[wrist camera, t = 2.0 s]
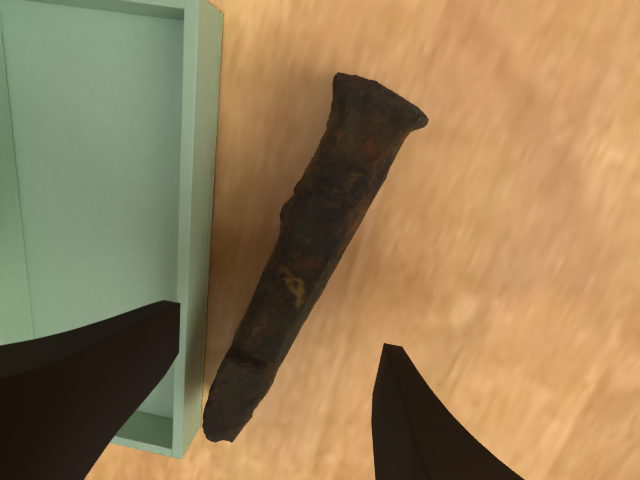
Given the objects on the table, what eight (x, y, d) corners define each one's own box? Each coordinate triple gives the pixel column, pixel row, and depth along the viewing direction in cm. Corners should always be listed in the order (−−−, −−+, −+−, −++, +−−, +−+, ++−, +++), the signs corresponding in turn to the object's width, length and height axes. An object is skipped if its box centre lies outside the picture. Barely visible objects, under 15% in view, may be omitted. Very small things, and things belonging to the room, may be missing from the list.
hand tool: (346, 73, 16) (337, 50, 12) (424, 117, 16) (444, 110, 12) (194, 375, 22) (150, 435, 18) (252, 406, 22) (222, 474, 18)
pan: (39, 389, 24) (2, 418, 22) (-4, -15, 17) (-64, -40, 15) (201, 426, 23) (181, 460, 21) (223, 13, 16) (199, -8, 14)
